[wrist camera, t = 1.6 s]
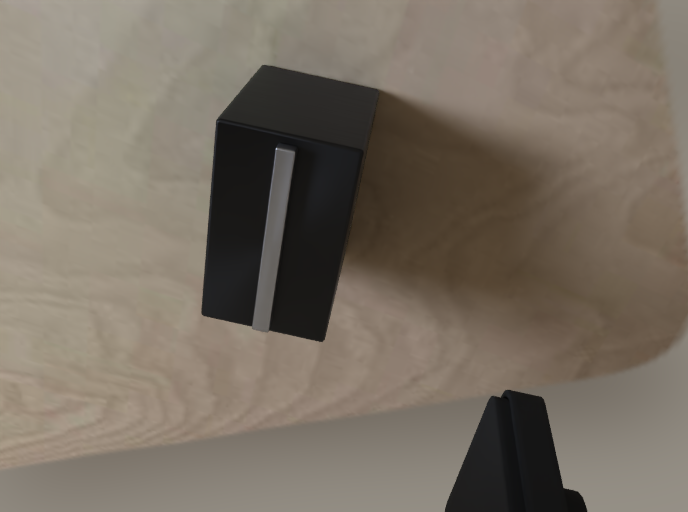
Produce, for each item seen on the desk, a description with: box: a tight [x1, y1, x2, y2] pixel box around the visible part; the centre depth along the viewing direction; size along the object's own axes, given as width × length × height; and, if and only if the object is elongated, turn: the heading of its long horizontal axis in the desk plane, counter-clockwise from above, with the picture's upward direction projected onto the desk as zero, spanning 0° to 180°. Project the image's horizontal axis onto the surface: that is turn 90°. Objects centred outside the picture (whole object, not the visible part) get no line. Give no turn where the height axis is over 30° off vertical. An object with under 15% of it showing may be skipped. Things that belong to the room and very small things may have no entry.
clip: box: [201, 65, 379, 342], centre depth 16 cm, size 5×3×4 cm, turn 170°
